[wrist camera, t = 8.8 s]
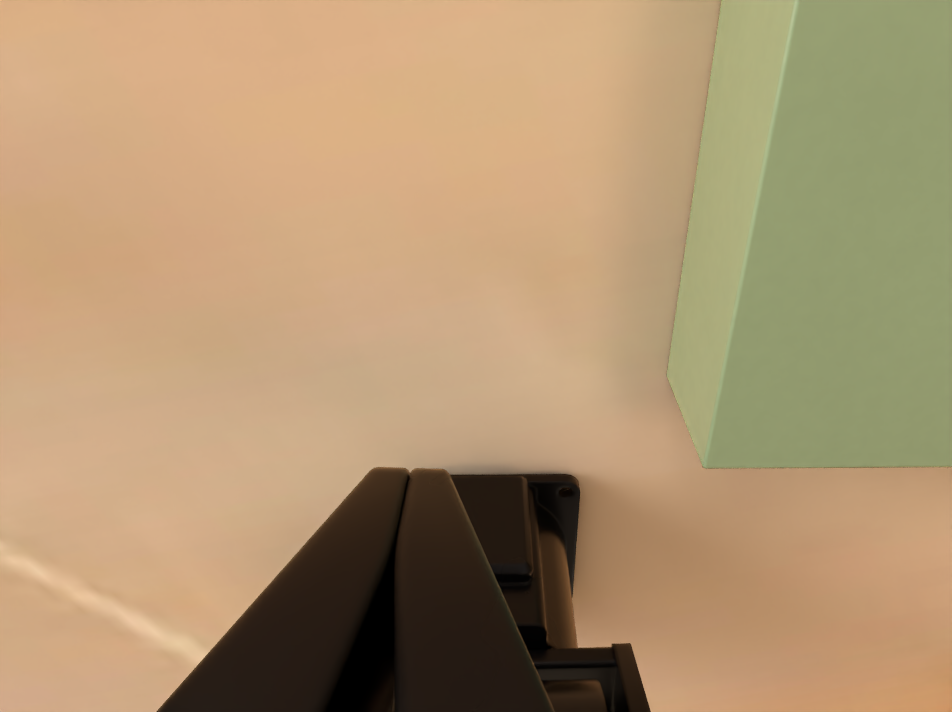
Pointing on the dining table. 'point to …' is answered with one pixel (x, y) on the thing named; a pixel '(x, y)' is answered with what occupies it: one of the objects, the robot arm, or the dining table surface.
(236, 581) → the dining table surface
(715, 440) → the stand
